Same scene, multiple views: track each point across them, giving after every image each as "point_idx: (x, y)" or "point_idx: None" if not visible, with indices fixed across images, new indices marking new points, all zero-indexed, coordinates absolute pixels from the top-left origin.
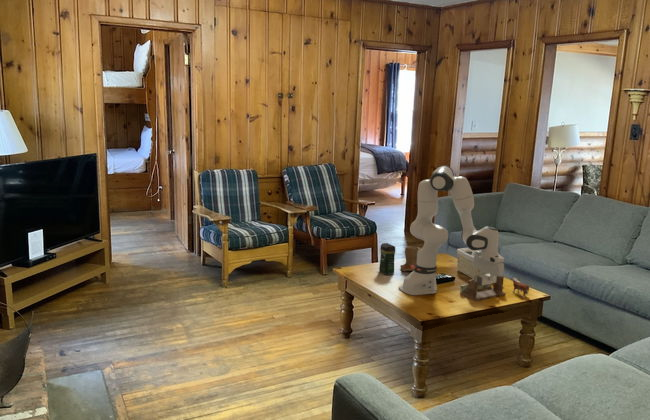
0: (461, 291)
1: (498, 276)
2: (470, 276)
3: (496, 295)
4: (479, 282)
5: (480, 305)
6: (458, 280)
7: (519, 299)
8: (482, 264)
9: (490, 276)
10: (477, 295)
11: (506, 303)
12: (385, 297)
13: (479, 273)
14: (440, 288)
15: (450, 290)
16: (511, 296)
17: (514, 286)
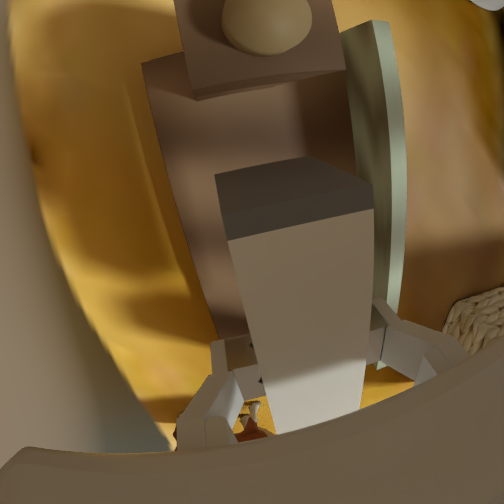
0: (343, 32)
1: (29, 450)
2: (491, 292)
3: (208, 305)
4: (260, 174)
5: (57, 74)
6: (501, 212)
7: (150, 390)
8: (501, 470)
9: (204, 398)
10: (230, 134)
11: (81, 299)
12: None
13: (475, 337)
14: (454, 9)
15: (420, 33)
16: (200, 378)
17: (252, 435)
